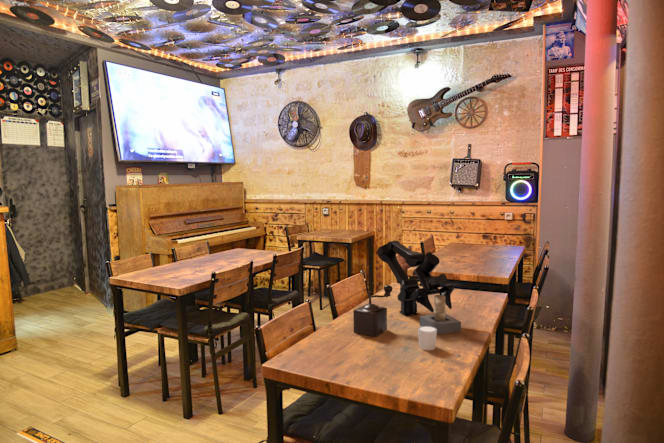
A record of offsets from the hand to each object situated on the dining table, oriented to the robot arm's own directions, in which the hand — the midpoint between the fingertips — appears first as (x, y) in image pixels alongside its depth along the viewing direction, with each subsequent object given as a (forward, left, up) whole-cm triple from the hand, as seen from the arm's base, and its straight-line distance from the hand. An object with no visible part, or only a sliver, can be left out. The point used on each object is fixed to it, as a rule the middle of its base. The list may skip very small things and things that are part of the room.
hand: (442, 310), depth 172 cm
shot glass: (-15, -15, -8) cm, 23 cm away
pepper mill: (-26, +9, -8) cm, 29 cm away
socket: (0, +1, -8) cm, 8 cm away
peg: (0, +1, -8) cm, 8 cm away
